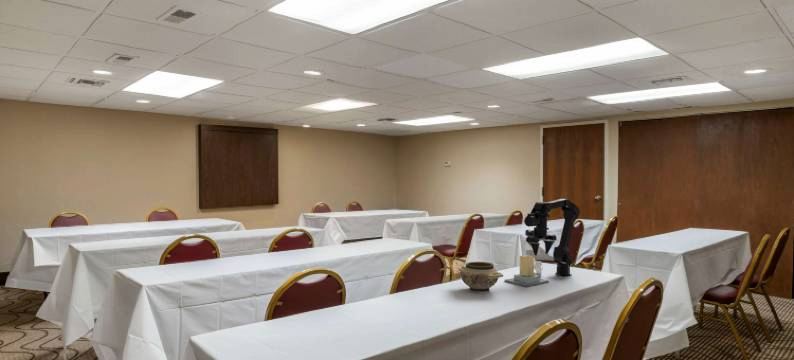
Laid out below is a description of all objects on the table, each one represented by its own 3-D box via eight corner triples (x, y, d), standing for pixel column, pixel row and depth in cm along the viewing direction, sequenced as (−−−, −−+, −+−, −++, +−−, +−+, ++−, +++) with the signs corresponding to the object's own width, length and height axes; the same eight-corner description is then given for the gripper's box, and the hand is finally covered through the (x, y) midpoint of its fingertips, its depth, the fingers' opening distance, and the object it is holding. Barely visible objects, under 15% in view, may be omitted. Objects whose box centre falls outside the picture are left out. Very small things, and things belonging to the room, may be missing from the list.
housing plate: (527, 277, 248) (527, 271, 248) (548, 282, 236) (548, 275, 236) (504, 281, 238) (504, 274, 238) (525, 287, 226) (525, 280, 226)
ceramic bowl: (508, 299, 214) (513, 267, 217) (485, 295, 203) (491, 262, 206) (468, 289, 233) (473, 260, 235) (445, 285, 222) (451, 255, 224)
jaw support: (548, 267, 258) (544, 258, 252) (545, 281, 253) (541, 271, 247) (527, 265, 265) (523, 256, 259) (524, 278, 260) (519, 269, 254)
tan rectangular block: (525, 278, 240) (526, 255, 240) (533, 280, 236) (533, 256, 236) (519, 279, 238) (519, 255, 237) (527, 281, 233) (527, 257, 233)
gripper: (540, 223, 256) (540, 250, 256) (518, 225, 246) (517, 254, 246) (557, 225, 247) (557, 253, 247) (534, 227, 237) (534, 257, 237)
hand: (541, 254), depth 245 cm, fingers open, 9 cm apart
